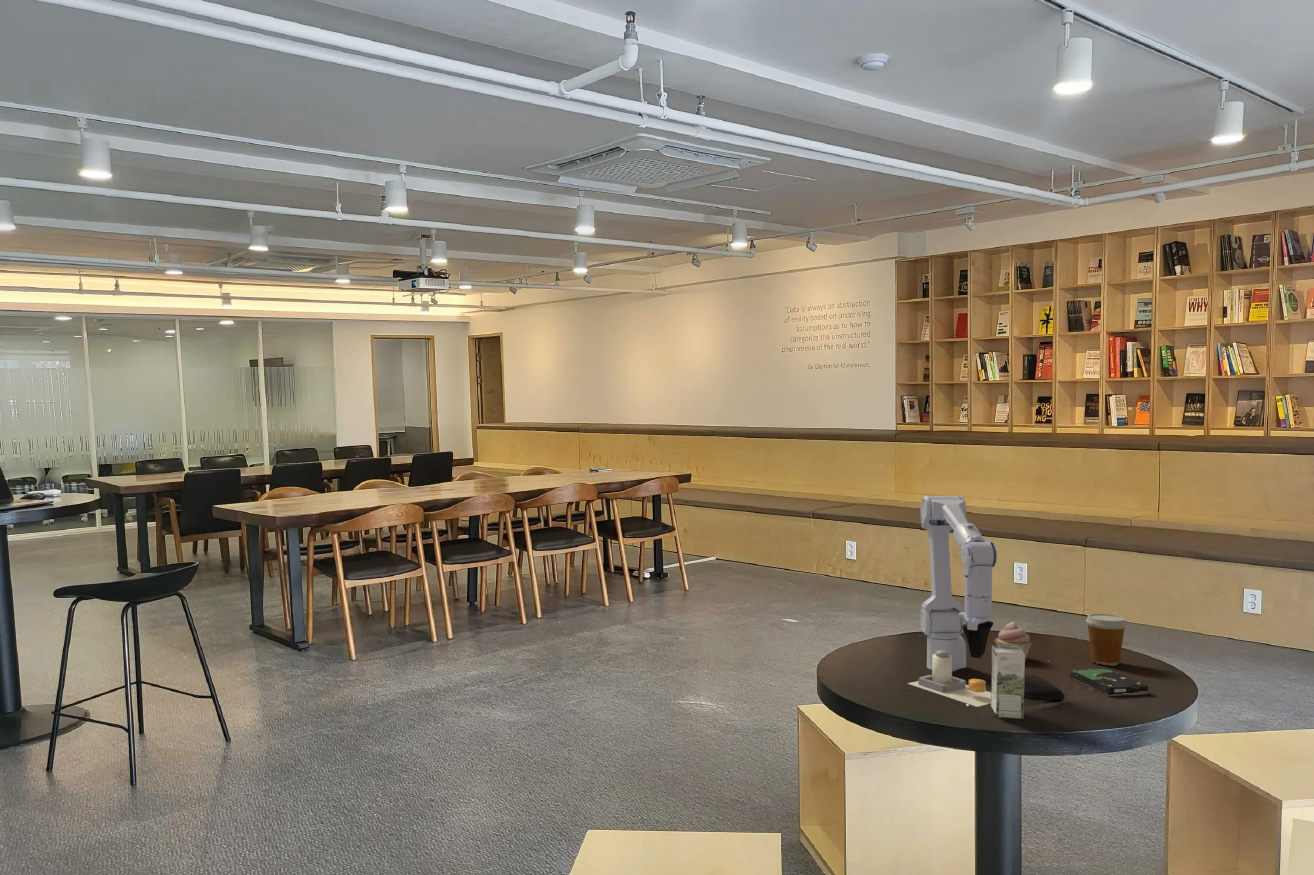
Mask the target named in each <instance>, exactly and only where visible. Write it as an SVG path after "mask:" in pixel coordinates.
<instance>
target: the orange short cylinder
mask: <svg viewBox="0 0 1314 875" xmlns="http://www.w3.org/2000/svg"><path fill="white" fill-rule="evenodd" d="M986 683H987V681H985V680H984V679H979V678H971V679H968V685H969V690H970V691H972V692H985V691H987V690H986V689H987V688H986V686H987V684H986Z"/></svg>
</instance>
